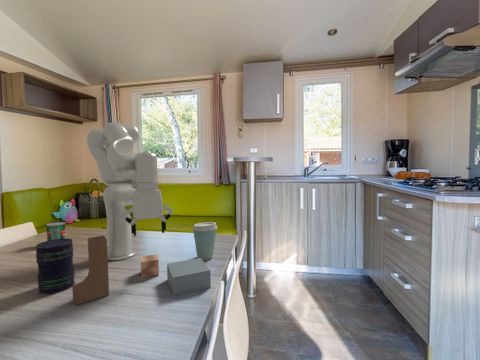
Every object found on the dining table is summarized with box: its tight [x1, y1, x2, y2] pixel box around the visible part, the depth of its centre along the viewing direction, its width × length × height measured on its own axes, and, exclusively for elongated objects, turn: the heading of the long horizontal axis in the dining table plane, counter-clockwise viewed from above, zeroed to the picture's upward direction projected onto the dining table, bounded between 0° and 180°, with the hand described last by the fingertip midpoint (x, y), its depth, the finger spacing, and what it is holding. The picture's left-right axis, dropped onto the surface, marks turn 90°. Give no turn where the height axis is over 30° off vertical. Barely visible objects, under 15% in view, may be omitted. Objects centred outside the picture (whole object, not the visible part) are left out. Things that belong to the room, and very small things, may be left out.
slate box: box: [166, 257, 212, 297], centre depth 84 cm, size 12×12×6 cm
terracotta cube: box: [140, 254, 160, 279], centre depth 92 cm, size 6×6×6 cm
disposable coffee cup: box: [192, 221, 218, 261], centre depth 107 cm, size 11×11×15 cm
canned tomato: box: [45, 221, 67, 241], centre depth 127 cm, size 8×8×11 cm
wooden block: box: [71, 235, 110, 306], centre depth 75 cm, size 9×4×18 cm, turn 130°
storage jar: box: [35, 238, 76, 295], centre depth 82 cm, size 10×10×15 cm
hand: (149, 233), depth 91 cm, fingers open, 9 cm apart
